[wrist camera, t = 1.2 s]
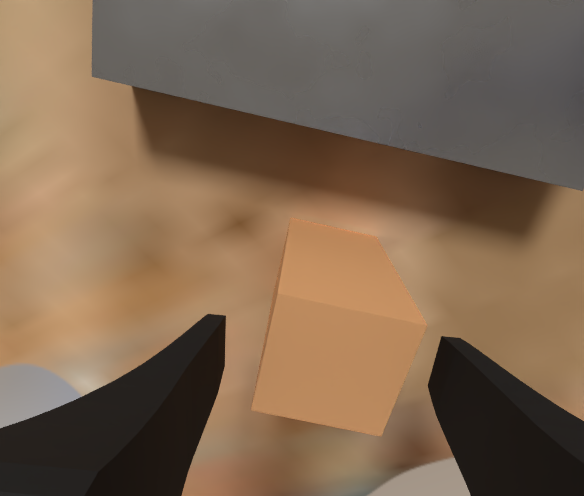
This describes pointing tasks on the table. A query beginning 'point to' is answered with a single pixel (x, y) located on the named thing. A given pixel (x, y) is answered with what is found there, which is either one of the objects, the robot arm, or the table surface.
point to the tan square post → (336, 332)
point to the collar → (373, 71)
